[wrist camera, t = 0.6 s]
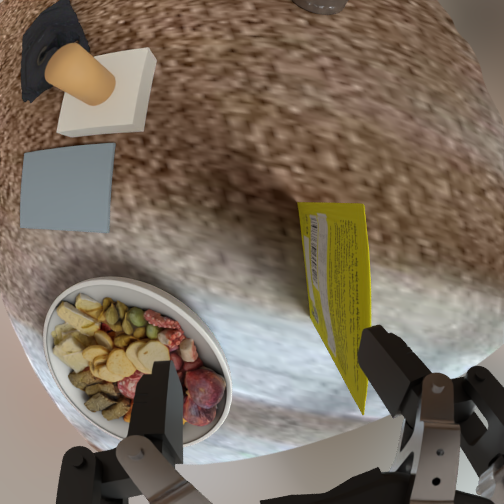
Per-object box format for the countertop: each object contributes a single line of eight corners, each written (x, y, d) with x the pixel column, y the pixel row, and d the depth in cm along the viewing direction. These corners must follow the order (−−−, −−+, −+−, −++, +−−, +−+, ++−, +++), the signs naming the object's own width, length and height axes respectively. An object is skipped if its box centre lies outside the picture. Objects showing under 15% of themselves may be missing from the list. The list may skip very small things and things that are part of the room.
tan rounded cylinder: (87, 74, 26) (52, 49, 17) (119, 69, 26) (87, 38, 18) (79, 108, 27) (39, 88, 18) (111, 103, 27) (74, 78, 18)
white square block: (86, 71, 30) (73, 61, 26) (156, 60, 30) (148, 47, 26) (71, 137, 31) (56, 132, 27) (143, 131, 32) (132, 124, 28)
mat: (26, 153, 31) (24, 153, 31) (115, 143, 32) (113, 142, 31) (22, 227, 33) (20, 227, 33) (109, 232, 34) (107, 233, 33)
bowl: (90, 419, 40) (75, 444, 33) (41, 273, 35) (10, 286, 27) (241, 432, 41) (241, 465, 33) (222, 263, 36) (216, 280, 28)
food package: (313, 316, 37) (369, 413, 17) (305, 318, 37) (355, 417, 17) (301, 201, 34) (371, 202, 14) (292, 202, 34) (353, 204, 14)
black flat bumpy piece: (81, -7, 26) (71, -18, 21) (94, 59, 30) (80, 47, 25) (22, 38, 27) (10, 30, 22) (25, 112, 30) (9, 106, 26)
